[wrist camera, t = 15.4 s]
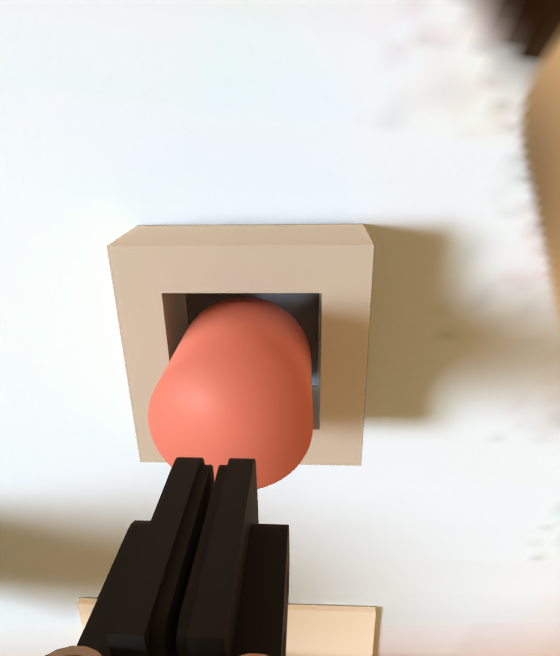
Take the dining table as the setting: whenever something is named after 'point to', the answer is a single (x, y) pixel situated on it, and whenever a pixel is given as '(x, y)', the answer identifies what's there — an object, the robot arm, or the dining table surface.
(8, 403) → the dining table surface
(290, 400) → the button
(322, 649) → the cream rectangular board
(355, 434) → the button base
